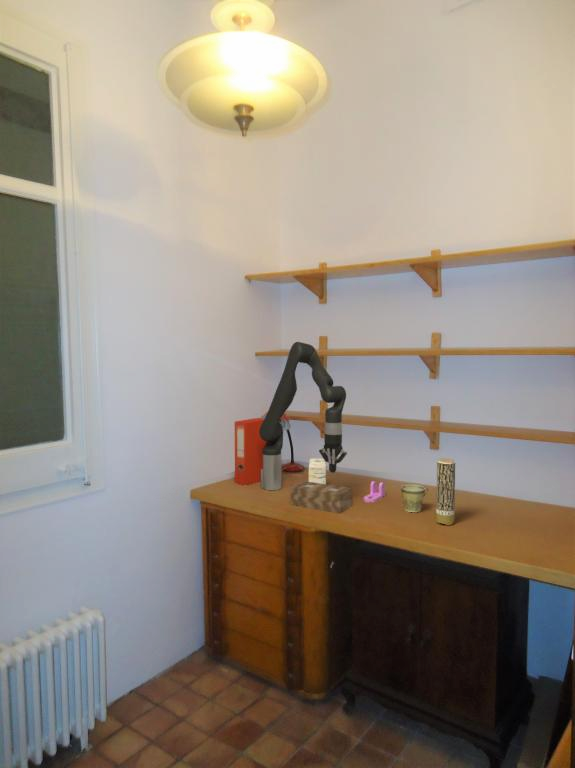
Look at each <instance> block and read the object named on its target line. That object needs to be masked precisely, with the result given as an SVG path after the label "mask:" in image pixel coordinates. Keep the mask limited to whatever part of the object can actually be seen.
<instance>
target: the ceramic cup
mask: <svg viewBox="0 0 575 768" xmlns="http://www.w3.org/2000/svg"><path fill="white" fill-rule="evenodd" d="M400 490H401V497H402V500H403V501H402V503H403V508H404V511H405V510H406V511H408V512H418V511H420V512H421V511H422V505H423V500H424V498H425V496H426V495H427V494H428V493H429V489H428V487H425V486H422V485H419V484H404V485H401V487H400ZM406 511H405V512H406ZM408 512H407V513H408Z"/></svg>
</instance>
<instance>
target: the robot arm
mask: <svg viewBox="0 0 575 768" xmlns="http://www.w3.org/2000/svg"><path fill="white" fill-rule="evenodd" d="M315 348H316V347H314V345H312V344H309V343H305V342H300V341H295V342H294V343H293V344H292V345H291V347H290V350H289V353H288V356H287V359H286V363H285V365H284V366H285V367H284V369H283V372H282V375H281V377H280V380H279V382H278V385H277V388H276V390H275V393H274V396H273V398H272V401H271V403H270V406H269V408H268V411H267V412H266V414H265V417H264V418H263V419H264V421H263V422H262V424H261V427H260V430H259V434H260V437H261V439H262V440H264V441H266V444H265V446H264V447H263V450H262V456H263V468H262V469H261V482H260V488H261V489H263V490H265V491H278V490H281V489H282V449H283V445H284V428H283V425H282V424H281V422H280V420H281V418H282V416H283V415H284V413H285V412H286V411H287V410H288V409H289V408H290V407H291V405H292V403H293V401H294V399H295V396H296V394H297V391H298V385H297V379H296V369H297V367H298V364H299V363H301V364H306V365H307V366H309V367H310V368H311V377H312V380H313V382H314V383H315V384H316V385H317V387H318V390H319V394H320V396H321V399H322V400H323V402H325V403H327V404H333V405H332V406H331V407H329V408H326V410H325V415H324V418H325V422H324V423H325V424H324V434H323V435H324V437H323V438H324V440H323V442H324V445H323V448H320V449H319V450H318V452H319V454H320V456H321V457H322V459H324V460H325V462H326V463H328V470H329V473H336V471H337V464H339V463H341V462H342V461H343V460H344V459H345V457H346V456H347V455H348V452H347V451H345V450H344V449H343V448H344V447H343V446H342V444H343V425H342V418H343V417H342V416H343V415H342V413H343V409H344V406H345V402H346V399H347V391H346V389H345V388H344V387H343V386H341V385H334V379H333V378H332V376H331V375H330V374H329V372H328V371H327V370H326V368H325V366H324V365H323V363H322V360H321V358H320V357H319V355H318V352H317V351H316V349H315ZM333 385H334V386H333ZM339 455H340V456H339Z"/></svg>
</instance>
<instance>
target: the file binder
mask: <svg viewBox="0 0 575 768" xmlns="http://www.w3.org/2000/svg"><path fill="white" fill-rule="evenodd" d="M264 419H265V418H264V417H263V418H261V417H255V418H249V419H243V420H242V419H241V420H236V421H234V483H235V484H236V483H237V485H240V484H241V486H244V485H247V486H250V485H254V484H256V482H257V483H259V481H261V469H262V468H263V456H262V450H263V447H264V446H265V444H266V441H264V440H262V439H261V437H260V434H259V430H260V427H261V424H262V422H263V421H264ZM253 483H254V484H253ZM249 484H250V485H249Z"/></svg>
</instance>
